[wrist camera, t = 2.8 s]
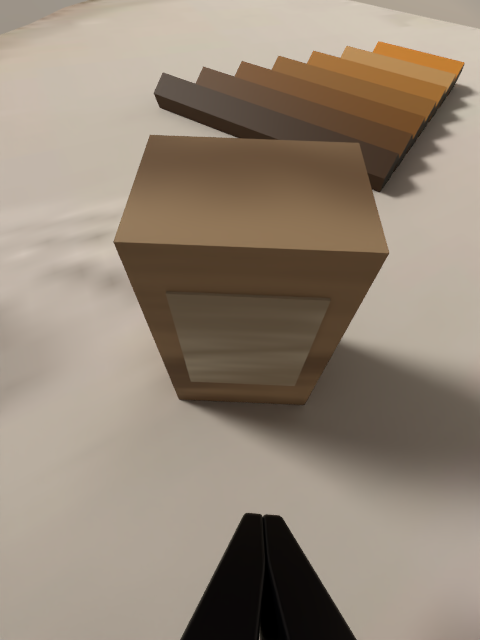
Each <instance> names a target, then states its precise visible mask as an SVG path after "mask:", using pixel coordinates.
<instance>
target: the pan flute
mask: <svg viewBox="0 0 480 640" xmlns="http://www.w3.org/2000/svg"><path fill="white" fill-rule="evenodd" d="M463 66H464V62H460V61H456V60H452V59H448V58H444V57H440V56H436V55H432V54H428V53H424V52H420V51H416V50H412V49H408V48H404V47H400V46H396V45H392V44H387V43H383V42H379V41H378V43H377V45H376V47H375V49H374V51H373V53H372V52H368V51H365V50H361V49H357V48H353V47H349V46H346V48H345V50H344V52H343V54H342V56H341V58H338V57H335V56H331V55H327V54H324V53H320V52H316V51H313V52H312V55H311V57H310V59H309V61H308V63H307V64H306V63H302V62H299V61H295V60H292V59H288V58H285V57H281V56H278V58H277V60H276V62H275V64H274V66H273V68H272V70H270V69H266V68H263V67H260V66H257V65H253V64H250V63H247V62H243V61H242V62H241V64H240V66H239V68H238V70H237V73H236V75H235V77H234V76H231V75H228V74H225V73H222V72H218V71H215V70H212V69H209V68H206V67H203V69H202V71H201V73H200V75H199V77H198V80H197V82H196V84H195V83H192V82H189V81H186V80H183V79H180V78H177V77H174V76H172V75H169V74H166V73H162V76H161V78H160V80H159V82H158V85H157V87H156V89H155V92H154V95H155V97H156V100H157V102H158V104H159V107H160V108H162V109H165V110H168V111H170V112H173V113H175V114H178V115H180V116H183V117H186V118H188V119H191V120H193V121H196V122H199V123H201V124H204V125H206V126H209V127H212V128H214V129H217V130H219V131H222V132H225V133H227V134H230V135H232V136H235V137H238V138H242V139H268V140H295V141H321V142H347V143H359V144H360V148H361V152H362V155H363V159H364V163H365V166H366V170H367V174H368V177H369V181H370V185H371V188H372V189H373V190H375V191H378V192H380V191H381V190H382V188H383V187H384V186H385V184H386V183H387V181H388V180H389V178H390V177H391V175H392V173H393V172H394V171H395V170H396V168H397V167H398V166H399V164H400V163H401V161H402V160H403V158H404V156H405V154H406V153H408V151H409V150H410V148H411V147H412V146H413V144H414V143H415V141H416V139H417V137H419V136H420V134H421V133H422V131H423V130H424V128H425V127H426V125H427V123H428V122H429V121H430V120H431V119H432V117H433V116H434V114H435V113H436V111H437V109H438V108H439V107H440V106H441V104H442V103H443V101H444V100H445V98H446V96H448V94H449V93H450V91H451V90H452V89H453V87H454V85H455V83H456V81H457V79H458V77H459V75H460V73H461V72H462V69H463Z"/></svg>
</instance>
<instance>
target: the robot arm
mask: <svg viewBox="0 0 480 640" xmlns="http://www.w3.org/2000/svg"><path fill="white" fill-rule="evenodd" d="M259 633H260V640H356V638H355V636H354V635H353V633H352V631H351V630H350V628H349V626H348V625H347V623H346V621H345V620H344V618H343V617H342V615H341V613H340V612H339V610H338V608H337V607H336V605H335V603H334V602H333V600H332V598H331V597H330V595H329V594H328V592H327V590H326V589H325V587H324V585H323V584H322V582H321V580H320V579H319V577H318V575H317V574H316V572H315V571H314V569H313V567H312V566H311V564H310V562H309V561H308V559H307V557H306V556H305V554H304V553H303V551H302V549H301V548H300V546H299V544H298V543H297V541H296V539H295V538H294V536H293V534H292V533H291V531H290V530H289V528H288V526H287V525H286V523H285V521H284V520H283V518H282V517H281V516H279V515H267V514H266V515H264V516H263V517H262V515H261V514H255V513H245V514H244V515H243V517H242V519H241V521H240V523H239V525H238V527H237V529H236V531H235V533H234V535H233V537H232V539H231V541H230V543H229V545H228V547H227V549H226V551H225V553H224V555H223V557H222V559H221V561H220V563H219V565H218V567H217V568H216V570H215V572H214V574H213V576H212V578H211V580H210V582H209V584H208V586H207V588H206V590H205V592H204V594H203V596H202V598H201V600H200V602H199V604H198V606H197V608H196V610H195V612H194V614H193V616H192V618H191V620H190V622H189V624H188V626H187V628H186V629H185V631H184V633H183V635H182V637H181V639H180V640H259Z"/></svg>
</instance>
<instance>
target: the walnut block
mask: <svg viewBox="0 0 480 640" xmlns="http://www.w3.org/2000/svg"><path fill="white" fill-rule="evenodd" d="M114 244H115V247H116V249H117V251H118V254H119V256H120V259H121V261H122V263H123V266H124V268H125V271H126V273H127V275H128V278H129V280H130V283H131V285H132V287H133V290H134V292H135V295H136V297H137V299H138V302H139V304H140V307H141V309H142V311H143V314H144V316H145V319H146V321H147V324H148V326H149V328H150V331H151V333H152V336H153V338H154V340H155V343H156V345H157V348H158V350H159V352H160V355H161V357H162V360H163V362H164V364H165V367H166V369H167V372H168V374H169V376H170V379H171V381H172V384H173V386H174V388H175V391H176V393H177V396H178V398H179V399H181V400H204V401H226V402H249V403H271V404H294V405H304V404H305V403H306V401H307V399H308V397H309V395H310V394H311V392H312V390H313V388H314V387H315V385H316V383H317V381H318V379H319V378H320V376H321V374H322V372H323V370H324V369H325V367H326V365H327V363H328V362H329V360H330V358H331V356H332V354H333V353H334V351H335V349H336V347H337V345H338V344H339V342H340V340H341V338H342V336H343V335H344V333H345V331H346V329H347V328H348V326H349V324H350V322H351V320H352V319H353V317H354V315H355V313H356V311H357V310H358V308H359V306H360V304H361V303H362V301H363V299H364V297H365V295H366V294H367V292H368V290H369V288H370V286H371V285H372V283H373V281H374V279H375V278H376V276H377V274H378V272H379V270H380V269H381V267H382V265H383V263H384V261H385V260H386V258H387V256H388V254H389V250H388V247H387V243H386V239H385V236H384V232H383V228H382V225H381V221H380V218H379V214H378V210H377V207H376V203H375V199H374V196H373V192H372V188H371V185H370V181H369V177H368V174H367V170H366V166H365V163H364V159H363V155H362V152H361V148H360V144H359V143H347V142H321V141H295V140H268V139H242V138H216V137H190V136H163V135H150V136H149V139H148V142H147V145H146V148H145V151H144V154H143V157H142V160H141V163H140V166H139V169H138V172H137V175H136V177H135V180H134V183H133V186H132V189H131V192H130V195H129V198H128V201H127V204H126V207H125V210H124V213H123V216H122V218H121V221H120V224H119V227H118V230H117V233H116V236H115V239H114Z"/></svg>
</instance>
